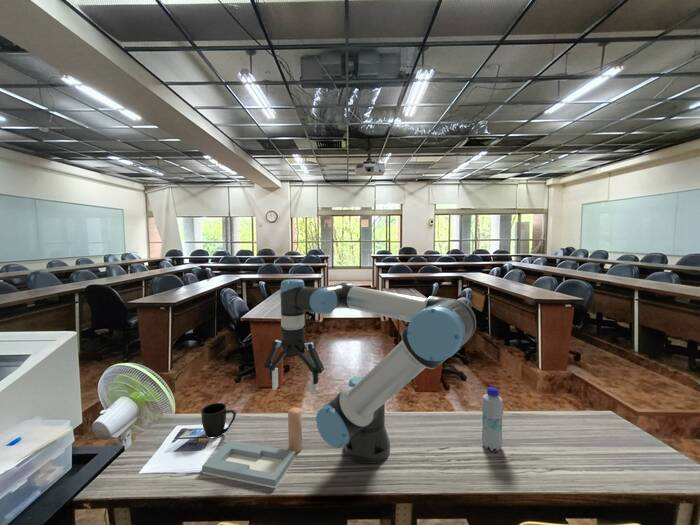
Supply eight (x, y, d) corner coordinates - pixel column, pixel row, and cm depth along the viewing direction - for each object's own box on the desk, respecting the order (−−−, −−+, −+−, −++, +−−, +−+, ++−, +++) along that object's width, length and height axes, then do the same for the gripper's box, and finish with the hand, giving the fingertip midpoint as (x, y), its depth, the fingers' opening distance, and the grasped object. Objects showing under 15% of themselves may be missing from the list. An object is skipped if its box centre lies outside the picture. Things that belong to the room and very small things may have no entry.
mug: (230, 442, 111) (229, 415, 110) (197, 440, 112) (196, 413, 111) (240, 428, 119) (240, 403, 118) (210, 427, 120) (209, 402, 120)
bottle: (492, 438, 111) (492, 382, 110) (507, 450, 105) (508, 390, 104) (476, 443, 109) (477, 385, 108) (491, 455, 102) (492, 393, 101)
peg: (304, 445, 108) (303, 408, 107) (298, 454, 104) (298, 415, 103) (292, 444, 109) (291, 406, 109) (286, 452, 105) (285, 413, 104)
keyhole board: (295, 458, 102) (295, 451, 102) (275, 488, 89) (275, 480, 89) (229, 447, 108) (229, 440, 108) (202, 473, 95) (202, 465, 95)
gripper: (333, 326, 105) (333, 389, 106) (264, 322, 111) (265, 382, 112) (325, 332, 98) (326, 400, 99) (252, 327, 104) (254, 391, 105)
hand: (294, 390), depth 106 cm, fingers open, 13 cm apart
